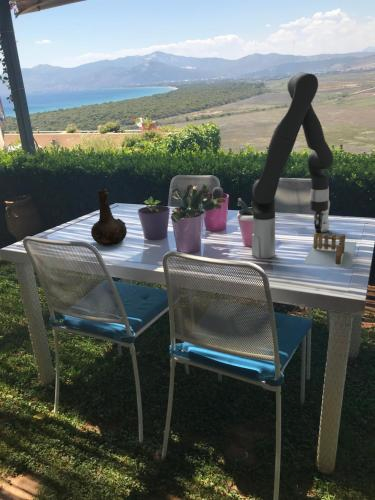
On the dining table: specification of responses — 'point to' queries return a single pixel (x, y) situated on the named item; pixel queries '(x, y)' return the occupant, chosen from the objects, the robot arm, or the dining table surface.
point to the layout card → (331, 255)
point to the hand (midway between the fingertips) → (318, 236)
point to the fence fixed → (340, 249)
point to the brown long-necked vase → (107, 224)
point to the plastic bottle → (325, 220)
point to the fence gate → (325, 241)
